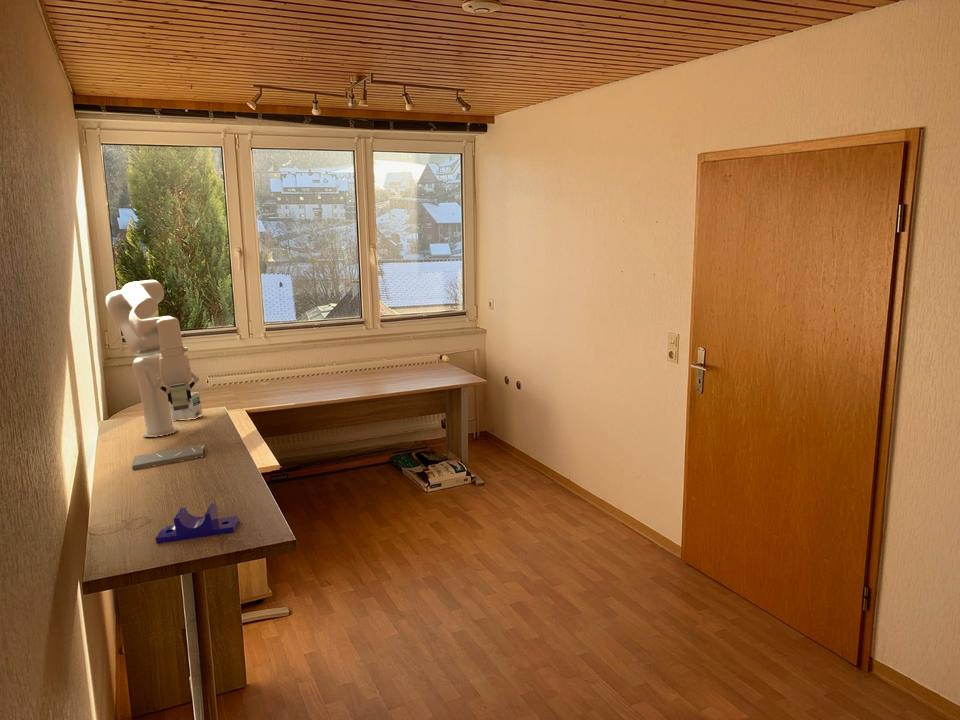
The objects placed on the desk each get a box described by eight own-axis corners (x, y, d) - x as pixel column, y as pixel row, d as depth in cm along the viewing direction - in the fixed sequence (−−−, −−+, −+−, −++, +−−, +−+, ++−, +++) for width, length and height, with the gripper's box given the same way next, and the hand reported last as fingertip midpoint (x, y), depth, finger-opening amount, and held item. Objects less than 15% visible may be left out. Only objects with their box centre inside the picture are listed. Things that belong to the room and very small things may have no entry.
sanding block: (174, 405, 260) (170, 384, 258) (188, 403, 261) (185, 382, 260) (173, 410, 251) (170, 388, 250) (188, 408, 253) (185, 386, 252)
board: (135, 460, 245) (134, 456, 244) (204, 448, 253) (204, 443, 252) (132, 470, 234) (132, 465, 233) (205, 456, 242) (205, 452, 241)
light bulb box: (203, 416, 304) (199, 391, 302) (195, 420, 297) (191, 395, 295) (180, 417, 305) (175, 393, 303) (171, 421, 298) (167, 396, 297)
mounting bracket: (156, 545, 171) (152, 521, 170) (164, 533, 178) (160, 510, 177) (234, 533, 174) (230, 510, 173) (238, 522, 181) (235, 500, 180)
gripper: (197, 348, 259) (205, 396, 263) (146, 354, 253) (155, 404, 256) (198, 350, 252) (205, 400, 256) (145, 357, 246) (154, 408, 249)
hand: (180, 401), depth 256 cm, fingers closed on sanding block, 5 cm apart
